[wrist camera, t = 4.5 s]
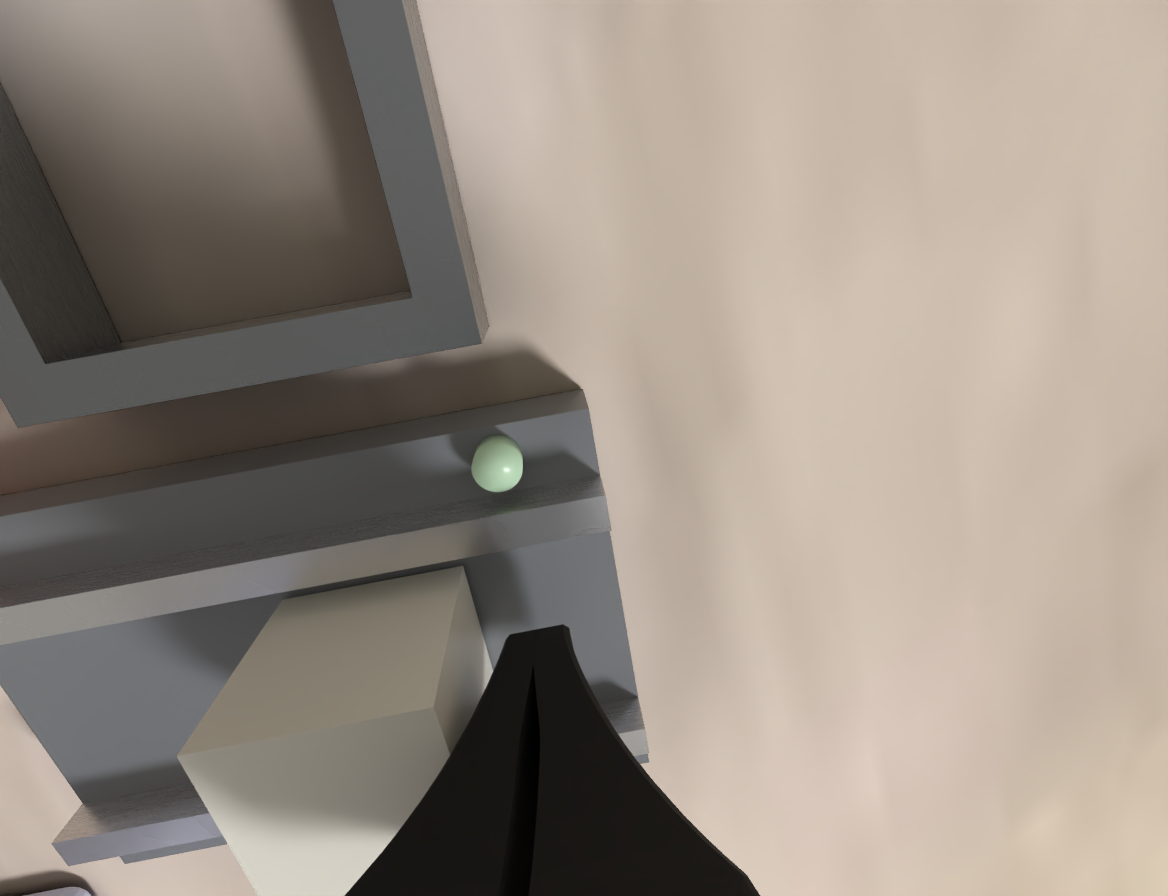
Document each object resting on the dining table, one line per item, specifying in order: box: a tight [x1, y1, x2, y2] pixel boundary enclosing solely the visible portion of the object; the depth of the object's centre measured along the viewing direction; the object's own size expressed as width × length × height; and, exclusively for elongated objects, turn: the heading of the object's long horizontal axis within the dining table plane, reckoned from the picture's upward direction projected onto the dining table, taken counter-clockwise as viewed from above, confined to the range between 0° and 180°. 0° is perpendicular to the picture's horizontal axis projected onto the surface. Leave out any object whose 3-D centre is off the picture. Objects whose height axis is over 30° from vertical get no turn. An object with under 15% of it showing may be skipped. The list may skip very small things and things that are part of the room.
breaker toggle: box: [177, 566, 493, 896], centre depth 11 cm, size 4×4×4 cm
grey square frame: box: [0, 0, 489, 428], centre depth 10 cm, size 8×8×2 cm
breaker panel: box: [0, 389, 649, 866], centre depth 14 cm, size 10×14×2 cm
